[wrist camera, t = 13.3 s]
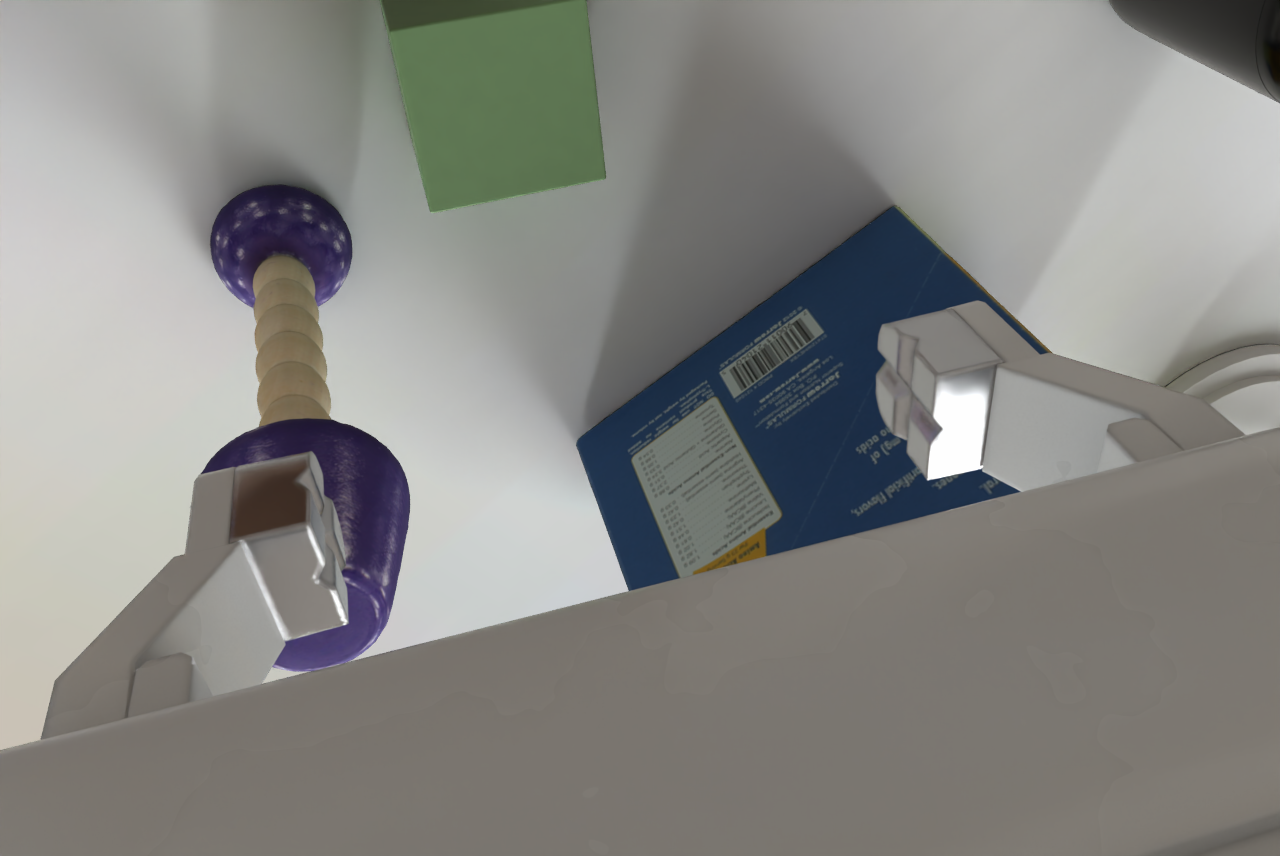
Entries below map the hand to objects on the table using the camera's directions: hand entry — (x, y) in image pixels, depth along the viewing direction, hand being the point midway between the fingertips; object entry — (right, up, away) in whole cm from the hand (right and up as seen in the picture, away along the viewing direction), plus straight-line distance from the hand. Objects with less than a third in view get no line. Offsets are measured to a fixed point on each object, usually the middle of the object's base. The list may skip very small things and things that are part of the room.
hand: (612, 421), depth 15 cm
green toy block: (-4, +11, +17) cm, 21 cm away
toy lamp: (-11, +6, +19) cm, 22 cm away
